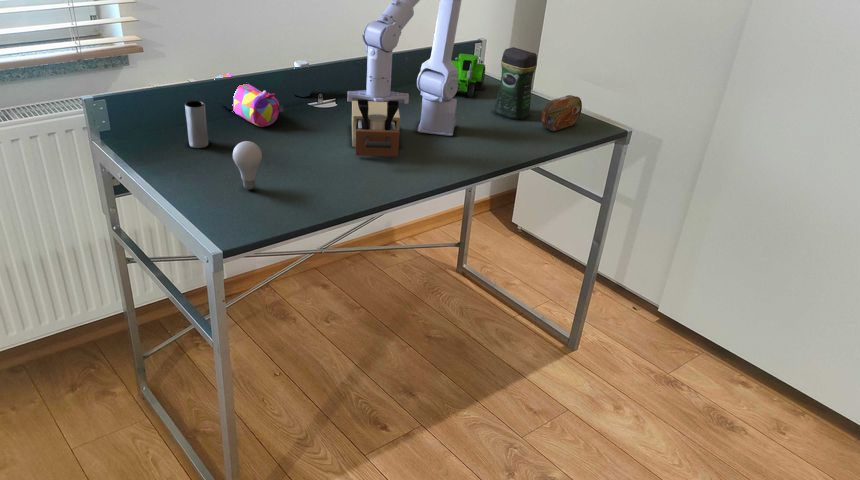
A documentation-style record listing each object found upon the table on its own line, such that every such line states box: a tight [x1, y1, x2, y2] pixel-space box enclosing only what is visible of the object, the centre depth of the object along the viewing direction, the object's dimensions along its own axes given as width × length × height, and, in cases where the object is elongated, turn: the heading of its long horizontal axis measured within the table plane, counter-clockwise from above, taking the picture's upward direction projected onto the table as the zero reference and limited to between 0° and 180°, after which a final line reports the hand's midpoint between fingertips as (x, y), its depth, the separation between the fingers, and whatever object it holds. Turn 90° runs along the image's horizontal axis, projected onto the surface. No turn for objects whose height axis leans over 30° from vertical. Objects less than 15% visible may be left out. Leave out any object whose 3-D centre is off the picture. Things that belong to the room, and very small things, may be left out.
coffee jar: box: [494, 46, 538, 120], centre depth 206 cm, size 10×8×19 cm
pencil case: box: [215, 73, 285, 128], centre depth 193 cm, size 22×9×9 cm, turn 47°
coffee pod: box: [368, 114, 387, 130], centre depth 178 cm, size 5×5×5 cm
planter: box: [184, 100, 209, 149], centre depth 175 cm, size 4×4×10 cm
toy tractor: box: [451, 53, 486, 98], centre depth 223 cm, size 11×16×10 cm
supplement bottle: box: [293, 59, 310, 68], centre depth 209 cm, size 5×5×10 cm
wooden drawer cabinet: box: [351, 101, 401, 148], centre depth 188 cm, size 14×12×8 cm
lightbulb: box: [232, 140, 263, 191], centre depth 157 cm, size 6×6×11 cm
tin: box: [540, 94, 583, 132], centre depth 203 cm, size 15×3×8 cm, turn 131°
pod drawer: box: [354, 119, 400, 158], centre depth 179 cm, size 17×10×6 cm, turn 6°
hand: (376, 130), depth 179 cm, fingers closed on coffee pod, 4 cm apart
